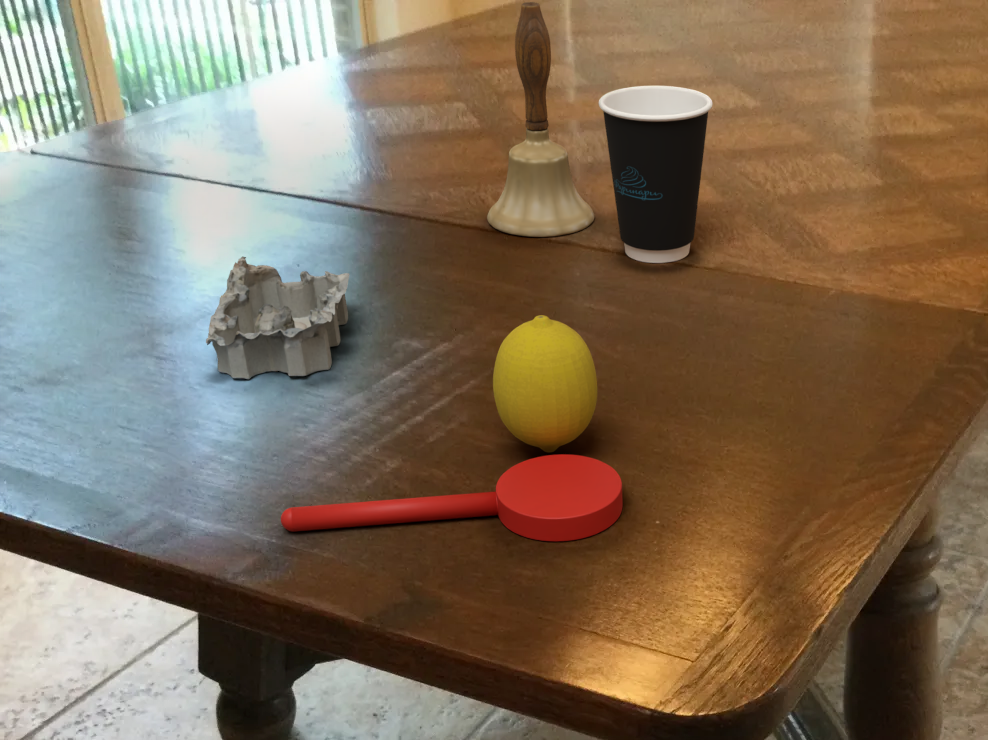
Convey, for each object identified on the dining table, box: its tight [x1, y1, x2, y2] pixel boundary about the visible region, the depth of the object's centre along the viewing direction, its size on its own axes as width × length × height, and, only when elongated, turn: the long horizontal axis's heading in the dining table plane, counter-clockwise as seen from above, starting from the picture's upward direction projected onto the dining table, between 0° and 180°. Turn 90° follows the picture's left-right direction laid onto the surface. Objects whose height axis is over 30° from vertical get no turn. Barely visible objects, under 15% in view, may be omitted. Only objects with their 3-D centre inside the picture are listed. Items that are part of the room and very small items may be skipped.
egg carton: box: [205, 256, 350, 380], centre depth 84 cm, size 11×8×4 cm
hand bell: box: [486, 1, 595, 238], centre depth 100 cm, size 8×8×16 cm
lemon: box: [492, 314, 598, 453], centre depth 72 cm, size 6×6×8 cm
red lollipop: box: [280, 453, 624, 543], centre depth 68 cm, size 17×6×1 cm, turn 100°
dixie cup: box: [598, 85, 713, 264], centre depth 97 cm, size 8×8×11 cm
